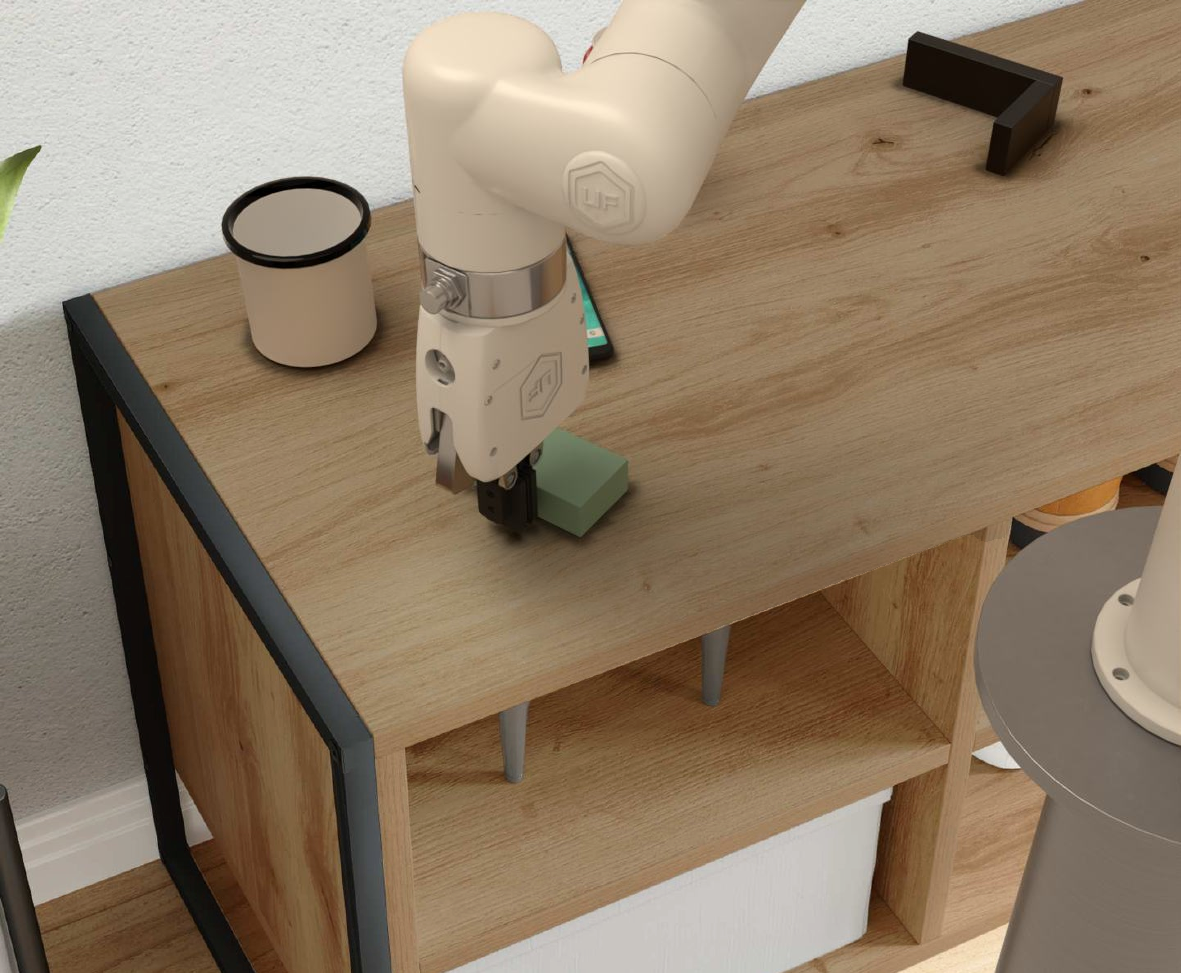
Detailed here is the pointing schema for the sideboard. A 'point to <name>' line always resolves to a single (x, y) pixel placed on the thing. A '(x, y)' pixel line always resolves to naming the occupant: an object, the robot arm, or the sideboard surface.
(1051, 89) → the corner stop
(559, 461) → the slider block
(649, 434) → the sideboard surface
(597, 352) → the smartphone
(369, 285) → the mug
